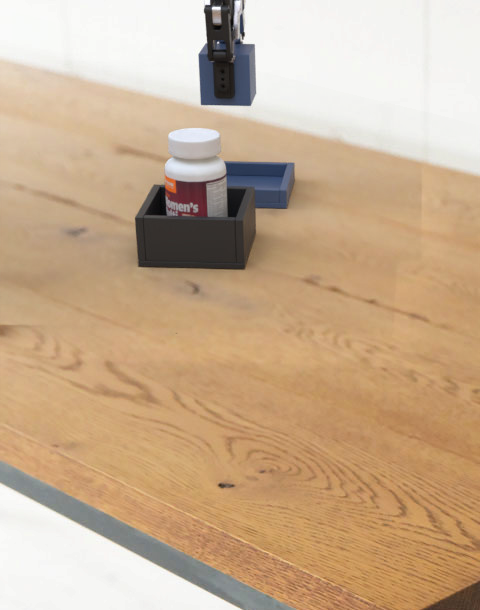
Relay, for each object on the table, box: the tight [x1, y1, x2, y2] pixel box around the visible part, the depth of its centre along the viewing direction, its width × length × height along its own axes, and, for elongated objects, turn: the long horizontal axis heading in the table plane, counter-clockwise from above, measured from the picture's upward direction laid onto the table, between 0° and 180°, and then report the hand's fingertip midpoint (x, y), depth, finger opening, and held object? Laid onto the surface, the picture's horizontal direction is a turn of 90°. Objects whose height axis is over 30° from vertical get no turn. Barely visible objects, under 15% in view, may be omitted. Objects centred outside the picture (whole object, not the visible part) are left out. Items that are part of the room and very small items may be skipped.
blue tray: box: [223, 160, 296, 209], centre depth 154 cm, size 14×11×2 cm
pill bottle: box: [164, 127, 228, 217], centre depth 135 cm, size 6×6×11 cm
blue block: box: [198, 42, 257, 107], centre depth 149 cm, size 6×6×6 cm
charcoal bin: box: [134, 184, 257, 270], centre depth 137 cm, size 11×11×5 cm
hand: (228, 90), depth 149 cm, fingers closed on blue block, 5 cm apart
